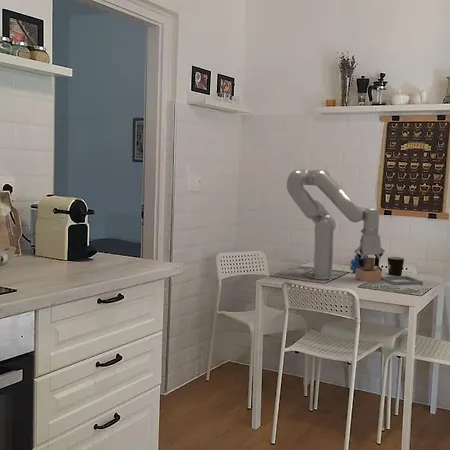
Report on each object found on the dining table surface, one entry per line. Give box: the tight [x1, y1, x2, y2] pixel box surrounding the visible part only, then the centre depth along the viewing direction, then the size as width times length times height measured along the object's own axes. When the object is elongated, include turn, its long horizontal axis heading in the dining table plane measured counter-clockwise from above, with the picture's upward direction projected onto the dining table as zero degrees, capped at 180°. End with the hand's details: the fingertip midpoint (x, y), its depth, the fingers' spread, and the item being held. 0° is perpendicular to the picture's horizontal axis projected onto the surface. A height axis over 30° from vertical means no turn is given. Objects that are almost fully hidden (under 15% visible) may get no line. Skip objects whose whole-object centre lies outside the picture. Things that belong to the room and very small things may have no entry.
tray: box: [381, 275, 424, 286], centre depth 315 cm, size 16×14×2 cm
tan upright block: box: [364, 256, 375, 271], centre depth 318 cm, size 5×5×11 cm
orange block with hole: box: [355, 268, 382, 283], centre depth 319 cm, size 9×9×6 cm
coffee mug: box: [387, 256, 405, 276], centre depth 335 cm, size 12×9×10 cm
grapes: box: [349, 254, 369, 274], centre depth 337 cm, size 12×7×12 cm, turn 111°
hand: (368, 266), depth 318 cm, fingers open, 7 cm apart
